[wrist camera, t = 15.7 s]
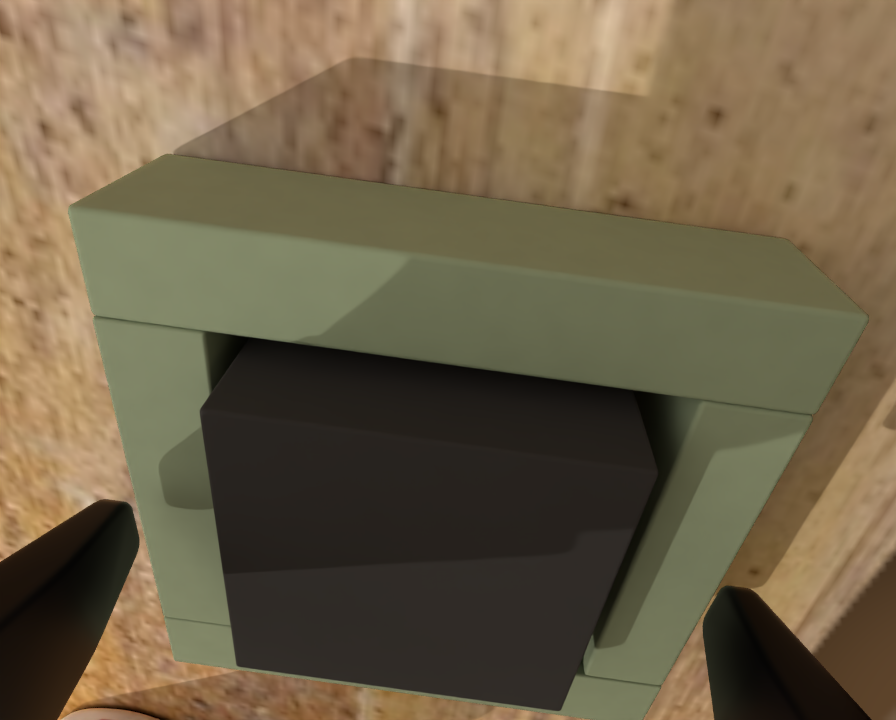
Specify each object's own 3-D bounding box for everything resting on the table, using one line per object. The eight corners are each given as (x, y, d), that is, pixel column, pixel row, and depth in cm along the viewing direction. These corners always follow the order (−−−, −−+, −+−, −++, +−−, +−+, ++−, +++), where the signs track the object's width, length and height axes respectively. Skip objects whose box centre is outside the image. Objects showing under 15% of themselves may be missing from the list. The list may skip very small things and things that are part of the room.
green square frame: (164, 151, 9) (63, 205, 7) (789, 237, 9) (874, 317, 7) (222, 560, 14) (173, 661, 12) (619, 616, 14) (640, 727, 12)
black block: (615, 327, 10) (661, 473, 7) (548, 548, 13) (561, 714, 10) (285, 282, 10) (197, 409, 7) (294, 513, 13) (235, 668, 10)
